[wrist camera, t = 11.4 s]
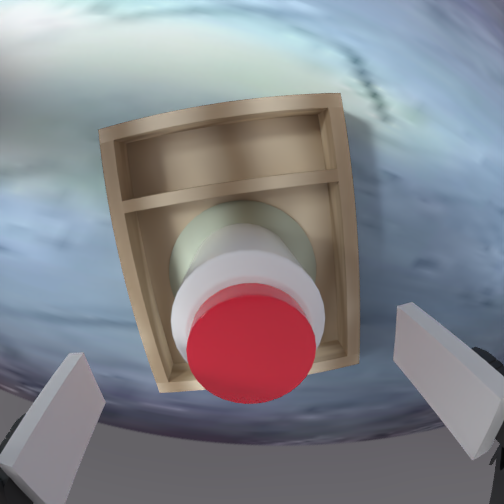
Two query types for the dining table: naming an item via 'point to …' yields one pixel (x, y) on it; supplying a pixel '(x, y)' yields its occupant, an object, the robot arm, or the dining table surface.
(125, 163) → the crate
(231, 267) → the pill bottle
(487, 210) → the dining table surface
